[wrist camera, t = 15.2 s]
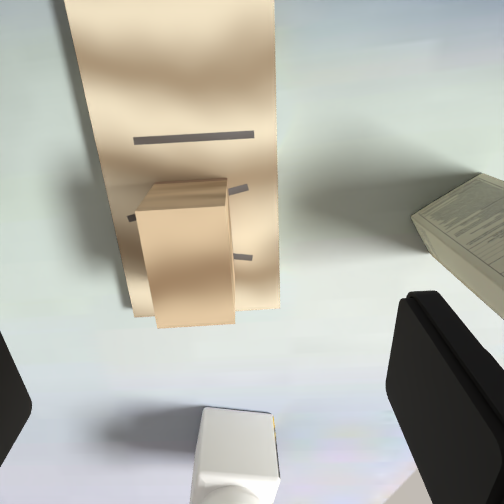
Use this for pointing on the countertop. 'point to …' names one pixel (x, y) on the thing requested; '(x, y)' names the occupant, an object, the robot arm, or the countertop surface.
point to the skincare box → (469, 236)
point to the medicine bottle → (235, 458)
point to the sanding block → (188, 252)
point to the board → (186, 120)
